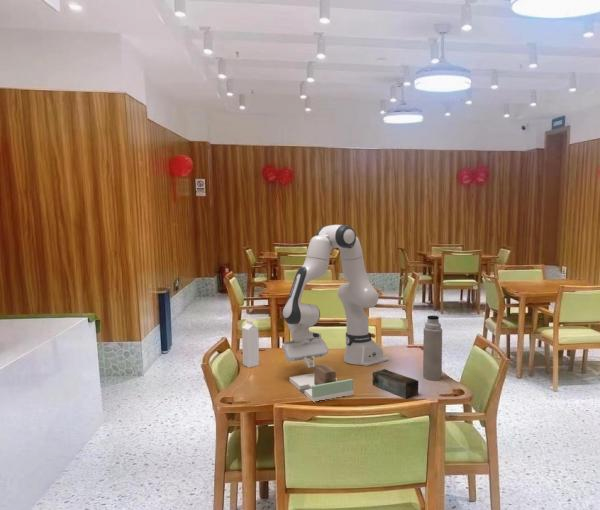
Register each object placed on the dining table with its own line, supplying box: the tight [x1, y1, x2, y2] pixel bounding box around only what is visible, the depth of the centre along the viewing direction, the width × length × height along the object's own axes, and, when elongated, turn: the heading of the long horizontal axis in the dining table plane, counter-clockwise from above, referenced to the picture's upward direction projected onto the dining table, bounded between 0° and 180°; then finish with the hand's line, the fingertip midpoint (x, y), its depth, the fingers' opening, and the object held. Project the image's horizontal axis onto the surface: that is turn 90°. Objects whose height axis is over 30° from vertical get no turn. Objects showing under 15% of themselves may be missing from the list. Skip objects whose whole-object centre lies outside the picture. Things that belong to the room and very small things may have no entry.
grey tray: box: [289, 372, 354, 403], centre depth 188 cm, size 18×25×6 cm
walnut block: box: [313, 363, 337, 385], centre depth 184 cm, size 5×10×8 cm, turn 23°
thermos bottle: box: [422, 315, 443, 382], centre depth 198 cm, size 8×8×28 cm
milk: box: [241, 320, 260, 368], centre depth 219 cm, size 6×6×22 cm
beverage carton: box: [372, 368, 419, 399], centre depth 186 cm, size 8×19×7 cm, turn 36°
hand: (311, 366), depth 196 cm, fingers closed
